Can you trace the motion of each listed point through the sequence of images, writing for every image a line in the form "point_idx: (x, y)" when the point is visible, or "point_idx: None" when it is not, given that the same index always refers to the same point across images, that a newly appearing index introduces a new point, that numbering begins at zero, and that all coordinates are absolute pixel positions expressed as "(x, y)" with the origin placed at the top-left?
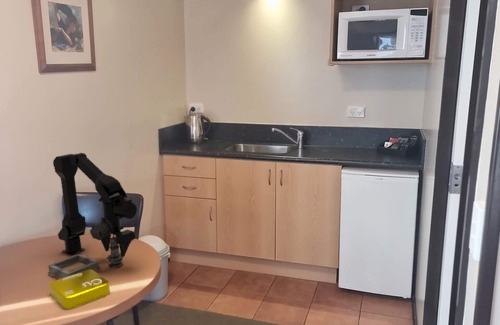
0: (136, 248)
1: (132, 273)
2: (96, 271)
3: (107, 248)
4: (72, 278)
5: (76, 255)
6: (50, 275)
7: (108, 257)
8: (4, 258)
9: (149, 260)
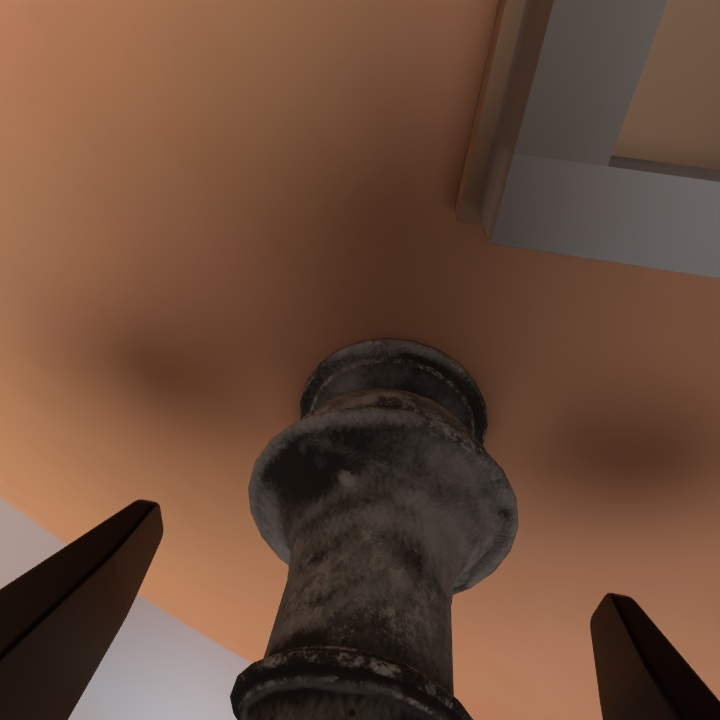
0: (477, 709)
1: (37, 328)
2: (483, 99)
3: (615, 665)
4: None
5: None
6: None
7: (447, 456)
8: None
9: (180, 581)
